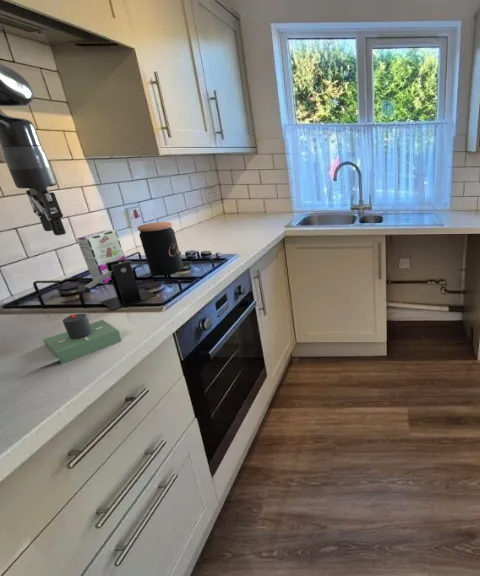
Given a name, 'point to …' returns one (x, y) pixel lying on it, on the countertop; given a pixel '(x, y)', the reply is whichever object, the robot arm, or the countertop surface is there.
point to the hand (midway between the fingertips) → (55, 232)
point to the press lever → (95, 281)
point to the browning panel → (83, 342)
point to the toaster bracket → (125, 286)
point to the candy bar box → (100, 252)
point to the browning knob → (77, 326)
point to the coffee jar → (160, 248)
